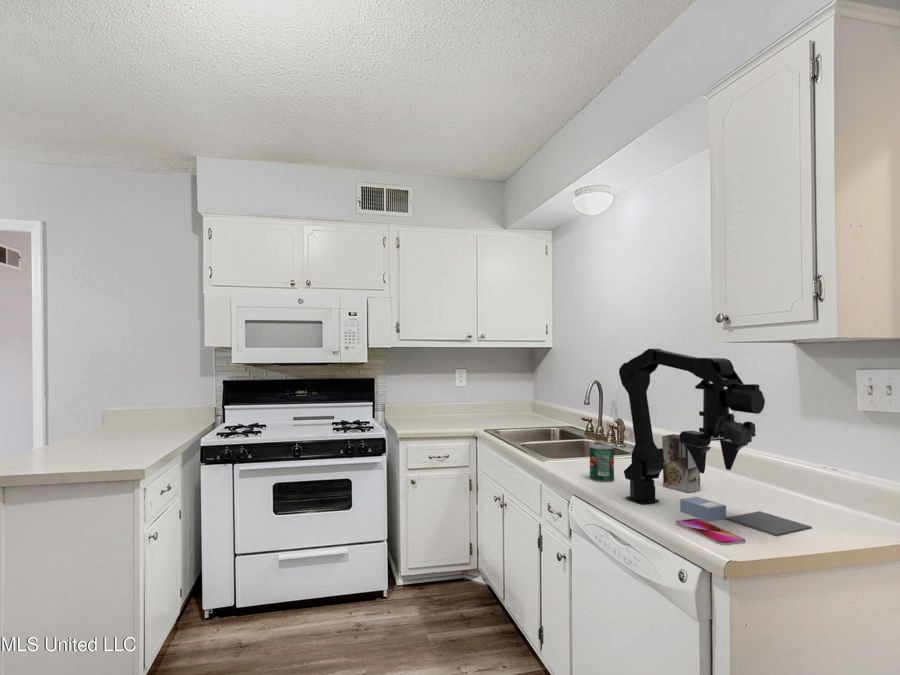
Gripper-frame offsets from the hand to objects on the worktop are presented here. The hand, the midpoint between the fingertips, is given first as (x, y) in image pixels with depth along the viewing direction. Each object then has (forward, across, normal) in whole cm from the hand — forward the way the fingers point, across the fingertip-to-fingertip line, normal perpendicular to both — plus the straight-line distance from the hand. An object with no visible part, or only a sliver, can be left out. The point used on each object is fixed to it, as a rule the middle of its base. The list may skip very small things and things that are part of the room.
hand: (715, 471), depth 126 cm
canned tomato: (+14, +3, +46) cm, 48 cm away
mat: (+12, +11, -6) cm, 18 cm away
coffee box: (+14, +18, +27) cm, 35 cm away
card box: (+13, +3, +6) cm, 15 cm away
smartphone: (+13, -7, -4) cm, 16 cm away
